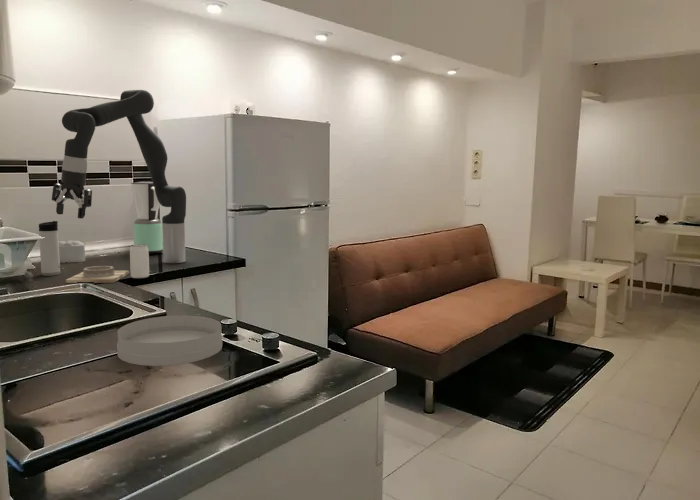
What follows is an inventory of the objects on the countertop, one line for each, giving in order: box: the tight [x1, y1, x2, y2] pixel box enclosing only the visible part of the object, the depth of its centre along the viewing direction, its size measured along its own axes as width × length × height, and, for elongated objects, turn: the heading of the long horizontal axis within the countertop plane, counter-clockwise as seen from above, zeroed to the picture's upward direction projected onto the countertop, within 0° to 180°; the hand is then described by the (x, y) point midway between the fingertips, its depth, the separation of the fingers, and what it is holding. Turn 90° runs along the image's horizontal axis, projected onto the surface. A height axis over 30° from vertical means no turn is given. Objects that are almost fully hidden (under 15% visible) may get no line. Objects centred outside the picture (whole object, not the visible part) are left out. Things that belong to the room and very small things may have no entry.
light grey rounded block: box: [59, 239, 86, 264], centre depth 236 cm, size 10×13×9 cm
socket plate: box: [65, 265, 130, 284], centre depth 198 cm, size 18×16×4 cm
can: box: [129, 244, 150, 279], centre depth 201 cm, size 6×6×12 cm
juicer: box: [130, 180, 163, 255], centre depth 258 cm, size 19×13×35 cm
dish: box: [116, 314, 223, 367], centre depth 119 cm, size 22×22×5 cm
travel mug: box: [38, 220, 61, 277], centre depth 203 cm, size 6×7×20 cm
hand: (70, 216), depth 189 cm, fingers open, 8 cm apart
